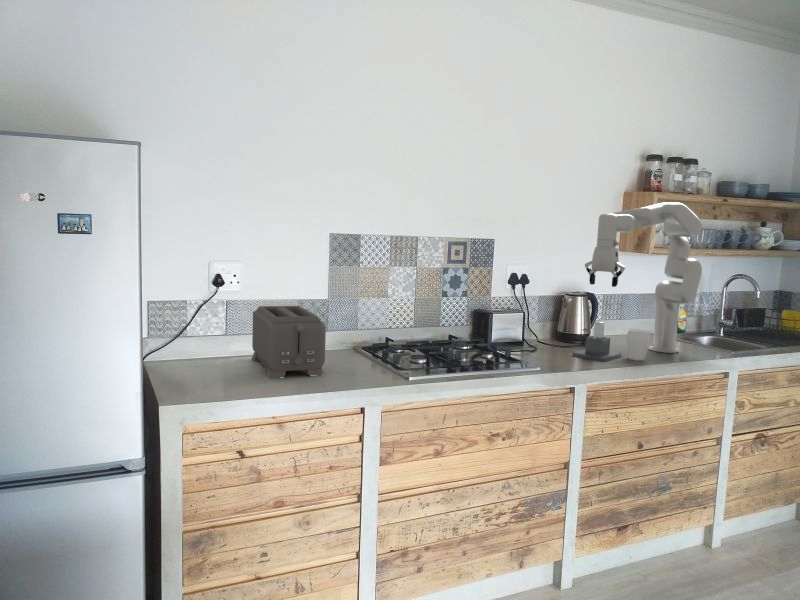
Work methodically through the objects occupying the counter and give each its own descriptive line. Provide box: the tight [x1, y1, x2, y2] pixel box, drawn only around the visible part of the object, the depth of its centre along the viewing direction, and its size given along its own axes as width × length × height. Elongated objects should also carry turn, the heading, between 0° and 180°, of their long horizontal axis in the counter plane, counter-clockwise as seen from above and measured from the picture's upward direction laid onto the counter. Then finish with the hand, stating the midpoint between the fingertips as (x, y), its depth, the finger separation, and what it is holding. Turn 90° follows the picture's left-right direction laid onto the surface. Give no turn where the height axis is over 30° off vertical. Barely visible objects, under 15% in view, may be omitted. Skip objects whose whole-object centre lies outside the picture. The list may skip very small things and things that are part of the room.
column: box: [593, 321, 605, 339], centre depth 274 cm, size 4×4×13 cm
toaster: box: [251, 305, 327, 379], centre depth 230 cm, size 19×35×20 cm, turn 23°
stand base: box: [572, 335, 622, 363], centre depth 275 cm, size 16×14×9 cm
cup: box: [626, 328, 651, 361], centre depth 273 cm, size 9×9×12 cm
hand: (603, 285), depth 271 cm, fingers open, 9 cm apart
